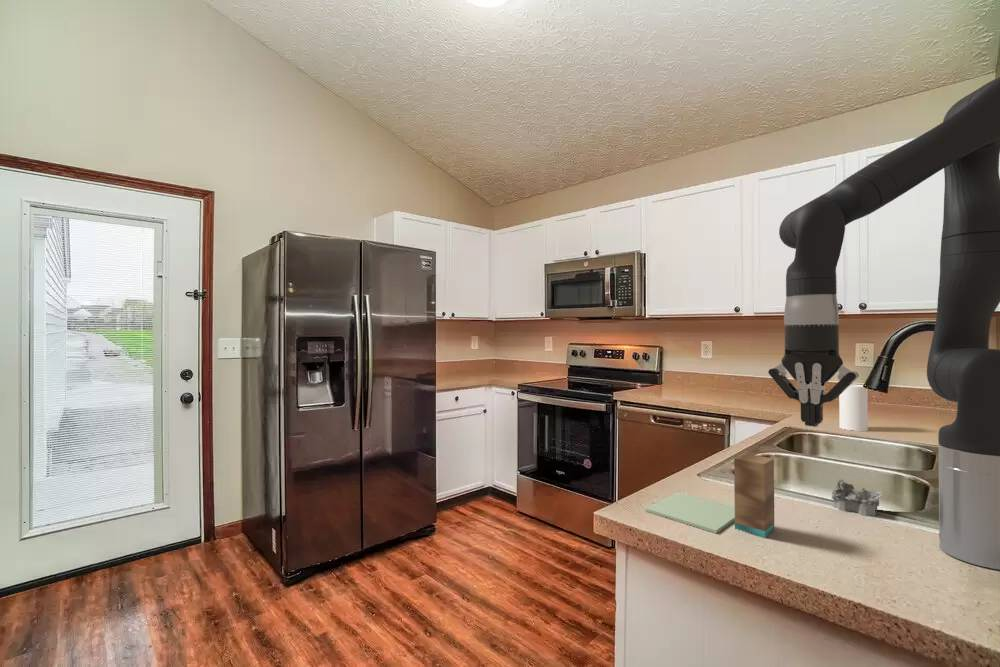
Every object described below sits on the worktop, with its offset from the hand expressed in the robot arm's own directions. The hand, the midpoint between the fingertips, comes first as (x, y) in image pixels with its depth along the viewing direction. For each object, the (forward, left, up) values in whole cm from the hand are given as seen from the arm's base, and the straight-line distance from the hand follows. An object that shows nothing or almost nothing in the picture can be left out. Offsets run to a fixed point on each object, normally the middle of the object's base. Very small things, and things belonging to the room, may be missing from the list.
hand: (811, 425), depth 76 cm
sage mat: (+20, 0, -20) cm, 29 cm away
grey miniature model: (-1, -27, -21) cm, 34 cm away
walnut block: (+9, 0, -20) cm, 22 cm away
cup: (+15, -117, -21) cm, 120 cm away
